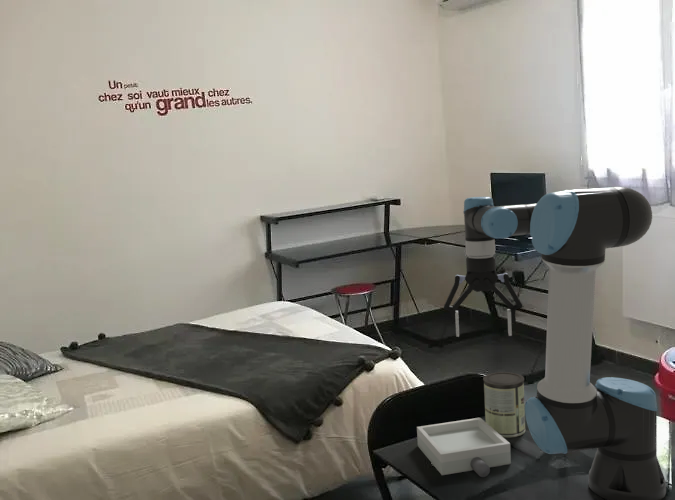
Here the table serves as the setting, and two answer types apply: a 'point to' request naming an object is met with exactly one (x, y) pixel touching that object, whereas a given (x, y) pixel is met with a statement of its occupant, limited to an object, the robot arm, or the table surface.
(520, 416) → the coffee can
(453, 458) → the white square tray
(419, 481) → the table surface
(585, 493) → the table surface
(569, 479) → the table surface
